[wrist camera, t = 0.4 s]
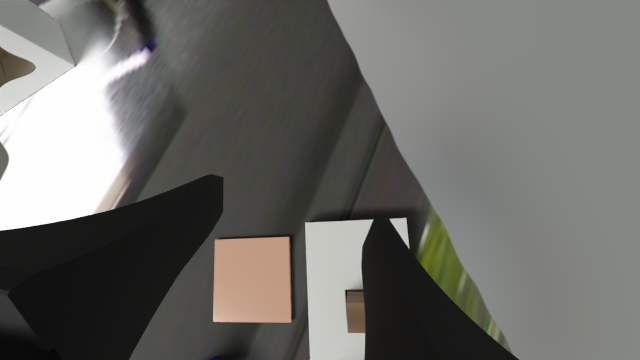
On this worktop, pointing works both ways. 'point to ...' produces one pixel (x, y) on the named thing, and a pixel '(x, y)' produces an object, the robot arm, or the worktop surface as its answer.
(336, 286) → the board
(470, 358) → the robot arm
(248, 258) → the terracotta tile
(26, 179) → the worktop surface
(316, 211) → the worktop surface
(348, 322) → the walnut peg
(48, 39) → the gable box
